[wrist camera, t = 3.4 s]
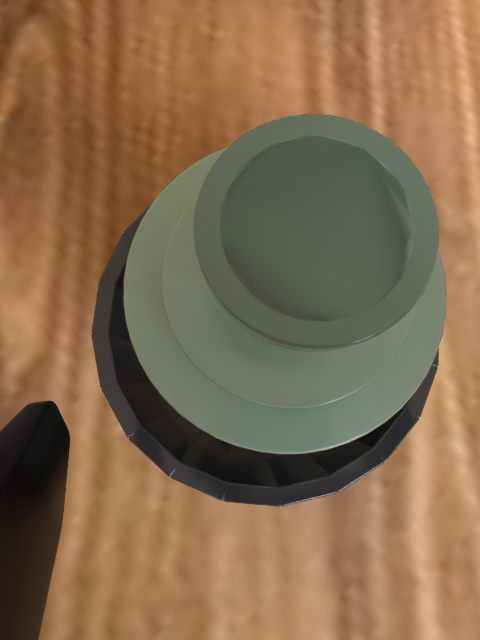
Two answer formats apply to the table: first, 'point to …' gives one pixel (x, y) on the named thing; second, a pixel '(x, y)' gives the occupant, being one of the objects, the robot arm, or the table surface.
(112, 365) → the cup
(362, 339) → the bottle
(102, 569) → the table surface
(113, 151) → the table surface
